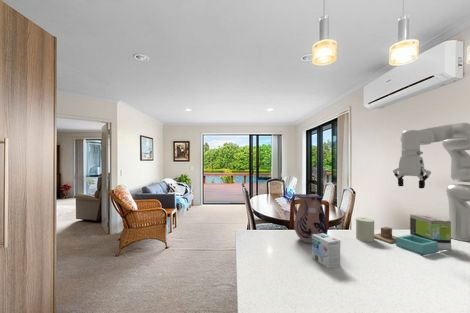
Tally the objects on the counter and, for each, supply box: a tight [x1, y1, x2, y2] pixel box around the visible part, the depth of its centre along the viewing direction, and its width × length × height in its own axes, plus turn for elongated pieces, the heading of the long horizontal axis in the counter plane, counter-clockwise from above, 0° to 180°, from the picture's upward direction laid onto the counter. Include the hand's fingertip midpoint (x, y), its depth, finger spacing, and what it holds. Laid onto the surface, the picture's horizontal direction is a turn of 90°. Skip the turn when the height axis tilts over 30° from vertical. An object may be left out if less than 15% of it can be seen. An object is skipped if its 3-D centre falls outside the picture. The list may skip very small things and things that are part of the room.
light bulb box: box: [311, 233, 341, 269], centre depth 98 cm, size 11×7×11 cm, turn 19°
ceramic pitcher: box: [290, 193, 329, 244], centre depth 125 cm, size 18×21×25 cm
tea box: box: [409, 213, 452, 251], centre depth 120 cm, size 15×10×15 cm
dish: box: [395, 234, 439, 257], centre depth 113 cm, size 12×12×5 cm
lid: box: [374, 226, 397, 244], centre depth 127 cm, size 12×12×6 cm
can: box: [355, 217, 375, 243], centre depth 126 cm, size 9×9×12 cm
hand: (410, 187), depth 116 cm, fingers open, 9 cm apart
